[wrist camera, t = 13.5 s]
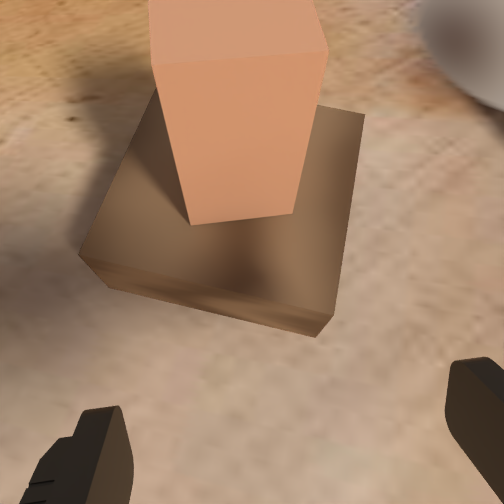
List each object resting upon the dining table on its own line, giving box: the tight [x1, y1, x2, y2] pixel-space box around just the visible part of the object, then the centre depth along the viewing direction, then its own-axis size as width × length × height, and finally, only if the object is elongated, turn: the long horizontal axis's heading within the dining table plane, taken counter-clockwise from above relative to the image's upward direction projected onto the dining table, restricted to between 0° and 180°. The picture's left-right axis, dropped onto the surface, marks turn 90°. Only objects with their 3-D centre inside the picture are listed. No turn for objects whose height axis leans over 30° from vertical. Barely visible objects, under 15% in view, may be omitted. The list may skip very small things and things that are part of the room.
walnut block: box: [78, 87, 365, 338], centre depth 22 cm, size 12×12×5 cm
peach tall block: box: [148, 0, 329, 226], centre depth 16 cm, size 5×5×9 cm
